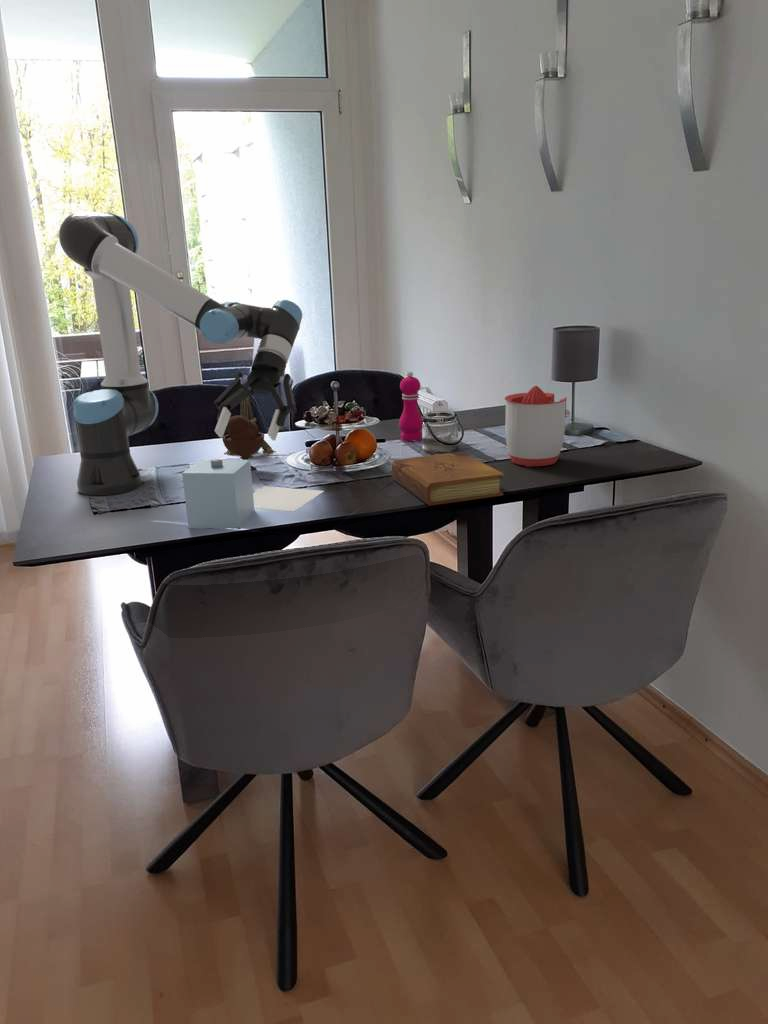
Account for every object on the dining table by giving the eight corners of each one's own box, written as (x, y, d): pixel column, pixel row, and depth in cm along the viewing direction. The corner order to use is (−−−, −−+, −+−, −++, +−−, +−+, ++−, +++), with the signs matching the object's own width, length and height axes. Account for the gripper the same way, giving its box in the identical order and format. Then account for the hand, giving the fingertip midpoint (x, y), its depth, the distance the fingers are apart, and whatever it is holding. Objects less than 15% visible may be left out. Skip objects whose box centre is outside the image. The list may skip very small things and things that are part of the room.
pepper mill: (400, 436, 245) (399, 369, 239) (424, 436, 244) (423, 369, 238) (397, 441, 238) (396, 373, 232) (422, 441, 237) (421, 373, 231)
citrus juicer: (582, 464, 208) (585, 386, 201) (522, 472, 202) (523, 393, 196) (550, 451, 222) (552, 378, 215) (493, 458, 216) (493, 384, 210)
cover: (188, 528, 170) (181, 467, 166) (207, 511, 180) (200, 454, 176) (238, 529, 168) (233, 467, 164) (254, 512, 178) (249, 454, 174)
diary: (392, 482, 200) (391, 460, 198) (461, 473, 206) (461, 451, 204) (427, 507, 179) (426, 482, 177) (503, 497, 185) (503, 472, 183)
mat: (230, 507, 182) (230, 505, 182) (264, 488, 196) (264, 486, 196) (294, 513, 177) (293, 511, 177) (324, 492, 191) (324, 490, 191)
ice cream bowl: (259, 477, 206) (255, 419, 201) (218, 476, 208) (213, 418, 204) (273, 466, 216) (269, 410, 211) (234, 465, 218) (229, 410, 213)
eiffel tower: (253, 447, 238) (246, 361, 231) (276, 452, 231) (269, 364, 223) (223, 454, 231) (215, 366, 223) (245, 459, 224) (237, 369, 216)
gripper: (324, 370, 189) (300, 447, 181) (232, 367, 198) (204, 441, 189) (313, 350, 183) (287, 429, 174) (218, 348, 192) (189, 424, 183)
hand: (244, 435), depth 182 cm, fingers open, 13 cm apart
